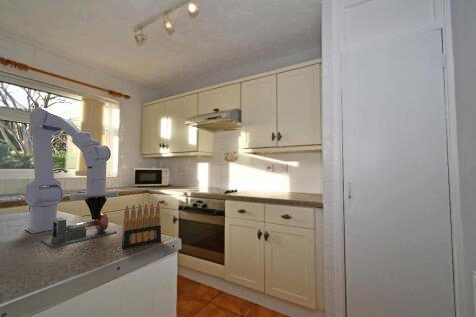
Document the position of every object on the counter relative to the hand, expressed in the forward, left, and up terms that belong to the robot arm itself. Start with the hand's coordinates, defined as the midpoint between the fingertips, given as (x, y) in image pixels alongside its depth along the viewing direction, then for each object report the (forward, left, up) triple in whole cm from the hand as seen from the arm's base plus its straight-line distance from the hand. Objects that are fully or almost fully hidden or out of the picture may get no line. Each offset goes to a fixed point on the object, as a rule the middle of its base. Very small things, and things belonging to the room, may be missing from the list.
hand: (95, 219), depth 76 cm
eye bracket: (0, -4, -5) cm, 6 cm away
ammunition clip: (+23, +3, -5) cm, 24 cm away
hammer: (0, -3, -4) cm, 5 cm away
